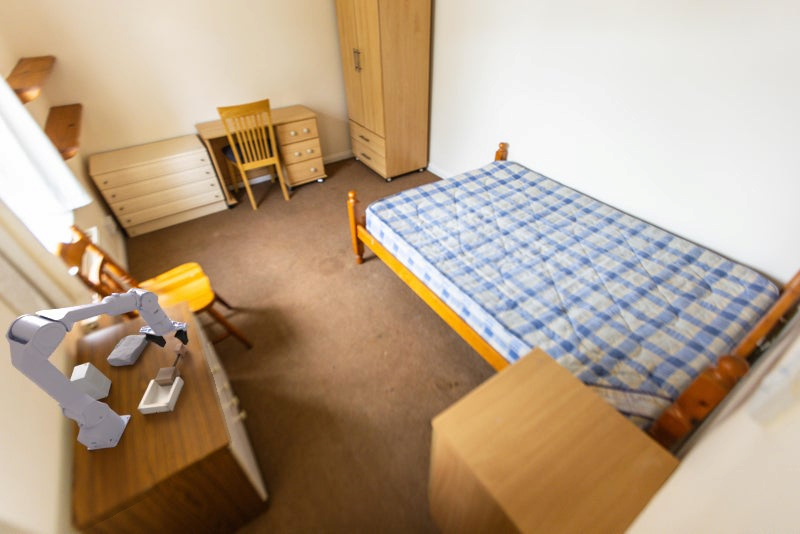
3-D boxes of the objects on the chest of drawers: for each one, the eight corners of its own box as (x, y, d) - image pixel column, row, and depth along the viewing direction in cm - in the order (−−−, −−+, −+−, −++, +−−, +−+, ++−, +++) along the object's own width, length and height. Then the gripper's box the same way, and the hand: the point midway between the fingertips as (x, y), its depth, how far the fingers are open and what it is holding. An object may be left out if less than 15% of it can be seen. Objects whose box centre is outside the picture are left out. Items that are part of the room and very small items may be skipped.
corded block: (176, 385, 116) (170, 378, 113) (161, 387, 116) (154, 380, 113) (191, 349, 127) (186, 342, 124) (177, 350, 127) (172, 343, 124)
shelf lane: (172, 410, 110) (167, 405, 107) (143, 414, 109) (137, 408, 107) (184, 382, 117) (179, 376, 115) (156, 385, 117) (151, 379, 114)
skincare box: (97, 386, 117) (74, 366, 109) (111, 381, 118) (90, 361, 110) (93, 401, 113) (68, 382, 105) (108, 396, 114) (84, 377, 106)
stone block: (111, 369, 124) (135, 365, 123) (101, 361, 121) (125, 357, 120) (131, 343, 133) (153, 339, 132) (122, 335, 130) (144, 331, 129)
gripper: (183, 307, 116) (200, 332, 125) (139, 311, 115) (159, 336, 124) (175, 323, 111) (193, 348, 120) (128, 328, 110) (150, 353, 119)
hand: (175, 343), depth 122 cm, fingers open, 7 cm apart
